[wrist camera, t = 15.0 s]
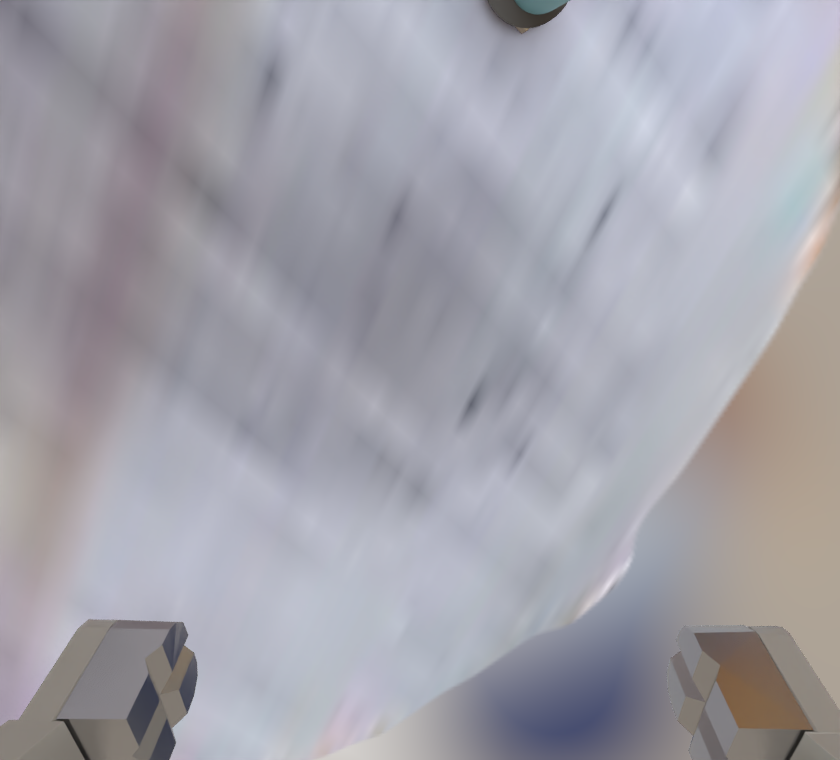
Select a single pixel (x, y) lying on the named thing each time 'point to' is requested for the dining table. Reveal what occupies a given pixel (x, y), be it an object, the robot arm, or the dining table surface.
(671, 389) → the dining table surface
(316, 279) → the dining table surface
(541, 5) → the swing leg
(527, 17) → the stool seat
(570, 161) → the dining table surface
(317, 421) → the dining table surface
